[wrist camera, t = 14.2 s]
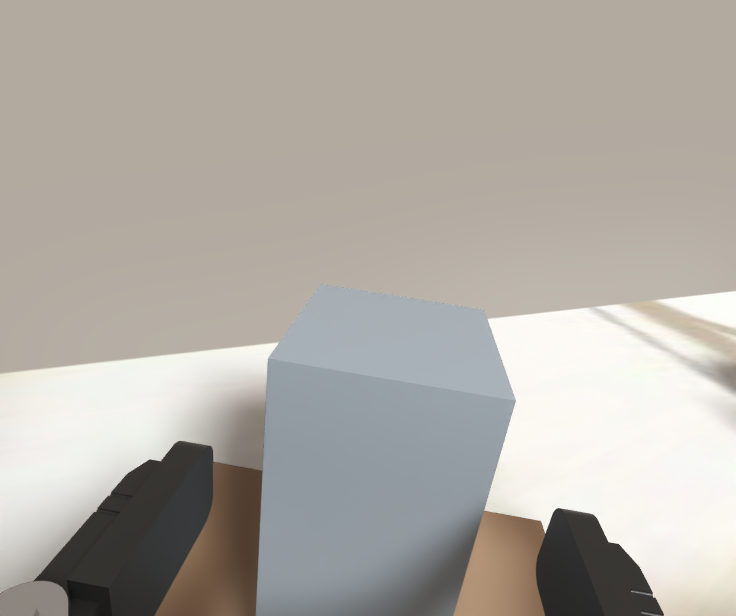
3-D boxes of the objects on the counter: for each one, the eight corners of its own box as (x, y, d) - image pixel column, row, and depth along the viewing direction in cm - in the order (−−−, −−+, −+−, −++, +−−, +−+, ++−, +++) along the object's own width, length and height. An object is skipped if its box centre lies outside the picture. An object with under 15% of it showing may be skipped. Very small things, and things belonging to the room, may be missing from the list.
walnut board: (20, 759, 13) (14, 741, 13) (203, 475, 24) (203, 460, 24) (642, 899, 12) (655, 883, 12) (535, 535, 23) (541, 521, 23)
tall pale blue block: (253, 667, 15) (267, 358, 11) (299, 525, 21) (320, 283, 16) (427, 704, 15) (516, 400, 10) (426, 550, 20) (484, 309, 16)
